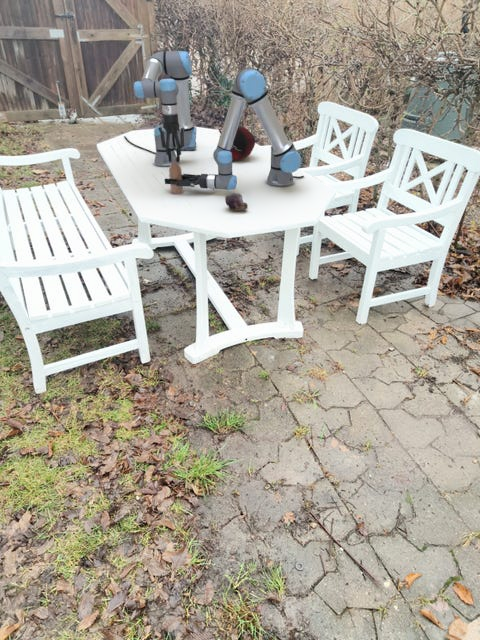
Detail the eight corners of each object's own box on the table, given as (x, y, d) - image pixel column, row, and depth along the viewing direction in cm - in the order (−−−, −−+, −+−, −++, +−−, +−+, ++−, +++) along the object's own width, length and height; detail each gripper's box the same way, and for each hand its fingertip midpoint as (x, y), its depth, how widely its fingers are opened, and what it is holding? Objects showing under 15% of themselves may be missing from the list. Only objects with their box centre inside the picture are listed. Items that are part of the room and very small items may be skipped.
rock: (239, 207, 231) (221, 210, 227) (238, 190, 228) (220, 192, 223) (250, 210, 222) (232, 213, 218) (249, 193, 218) (231, 195, 214)
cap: (176, 162, 237) (175, 158, 236) (169, 161, 238) (169, 158, 237) (179, 160, 240) (179, 157, 239) (172, 159, 241) (172, 156, 240)
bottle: (175, 189, 252) (172, 156, 242) (185, 190, 250) (182, 157, 240) (168, 192, 247) (165, 159, 237) (179, 194, 245) (176, 161, 235)
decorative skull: (216, 132, 306) (216, 129, 283) (250, 124, 306) (252, 120, 282) (223, 164, 313) (223, 164, 290) (256, 156, 312) (259, 156, 289)
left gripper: (151, 114, 224) (157, 162, 237) (184, 115, 222) (188, 163, 235) (156, 112, 230) (161, 159, 243) (188, 112, 228) (191, 160, 241)
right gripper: (203, 194, 236) (162, 191, 240) (212, 182, 252) (173, 180, 256) (202, 180, 232) (160, 177, 235) (212, 169, 248) (172, 167, 251)
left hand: (174, 161), depth 239 cm, fingers closed on cap, 4 cm apart
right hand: (167, 179), depth 245 cm, fingers closed on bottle, 7 cm apart
